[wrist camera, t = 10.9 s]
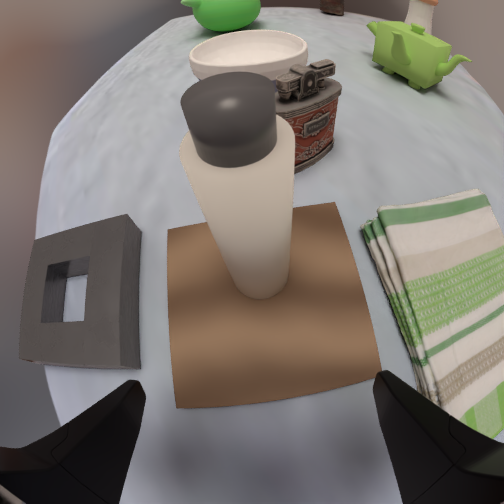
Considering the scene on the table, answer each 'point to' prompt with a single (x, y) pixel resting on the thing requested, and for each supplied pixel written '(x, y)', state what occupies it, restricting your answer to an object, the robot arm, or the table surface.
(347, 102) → the table surface
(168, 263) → the board
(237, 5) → the toy bird
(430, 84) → the kettle
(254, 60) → the bowl
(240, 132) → the white bottle
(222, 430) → the table surface
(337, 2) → the candle
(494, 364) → the dish towel
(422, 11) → the pepper shaker
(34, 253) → the housing
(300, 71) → the lighter
